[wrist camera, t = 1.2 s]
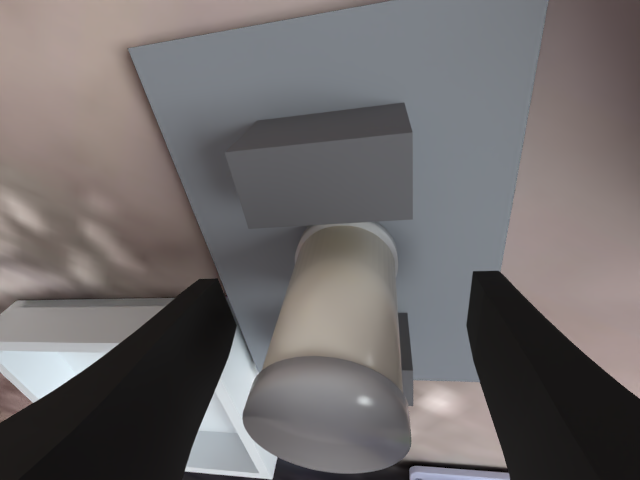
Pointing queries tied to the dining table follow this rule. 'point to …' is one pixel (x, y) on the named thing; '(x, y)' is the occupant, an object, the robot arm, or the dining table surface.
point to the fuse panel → (353, 68)
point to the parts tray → (102, 336)
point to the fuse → (335, 357)
